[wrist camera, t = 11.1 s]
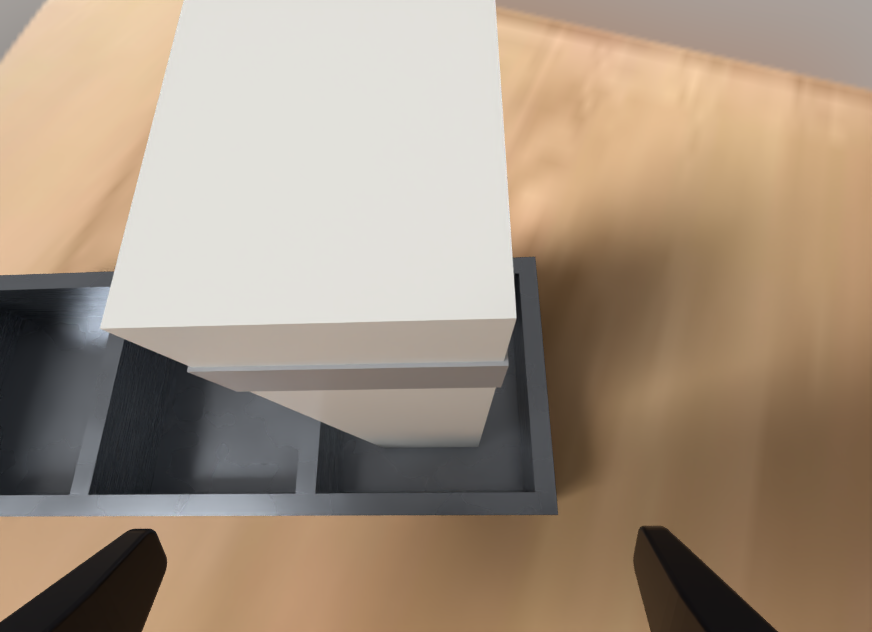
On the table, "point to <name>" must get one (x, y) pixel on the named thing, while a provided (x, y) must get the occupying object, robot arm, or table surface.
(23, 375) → the rack
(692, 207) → the table surface
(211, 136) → the white capped pillar
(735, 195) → the table surface
